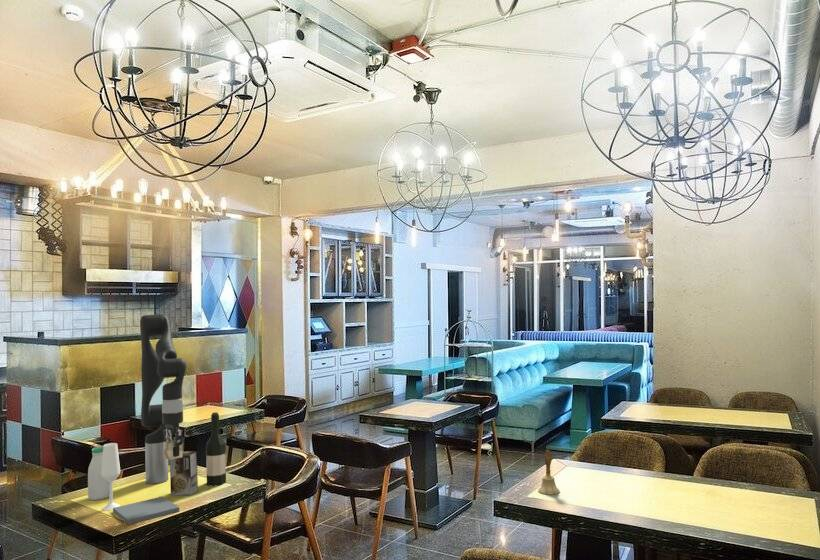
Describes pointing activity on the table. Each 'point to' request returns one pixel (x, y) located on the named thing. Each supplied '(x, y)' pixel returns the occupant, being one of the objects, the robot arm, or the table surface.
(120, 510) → the slate board
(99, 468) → the milk bottle
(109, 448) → the champagne flute
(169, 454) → the birch block
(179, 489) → the coffee box
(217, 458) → the wine bottle
